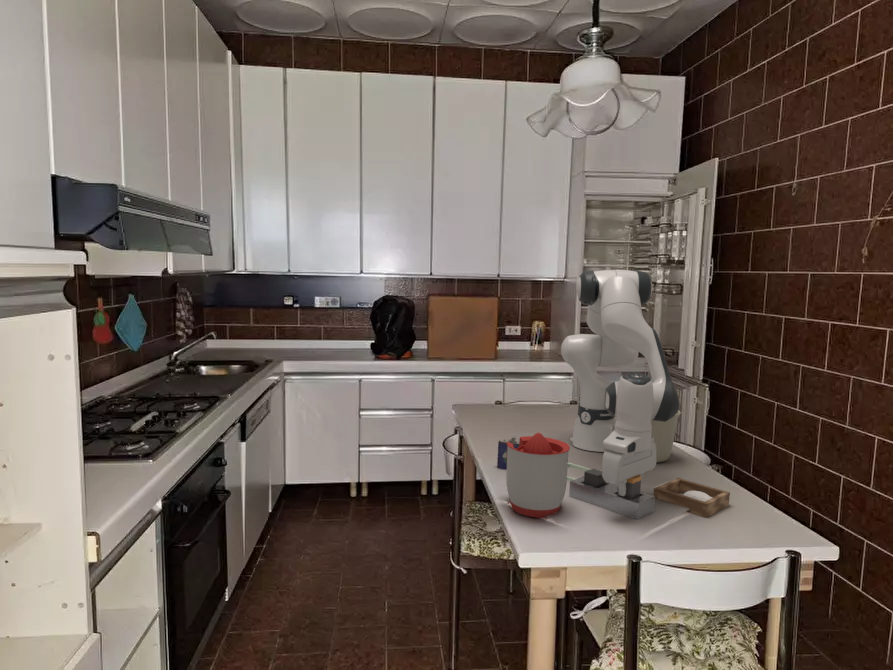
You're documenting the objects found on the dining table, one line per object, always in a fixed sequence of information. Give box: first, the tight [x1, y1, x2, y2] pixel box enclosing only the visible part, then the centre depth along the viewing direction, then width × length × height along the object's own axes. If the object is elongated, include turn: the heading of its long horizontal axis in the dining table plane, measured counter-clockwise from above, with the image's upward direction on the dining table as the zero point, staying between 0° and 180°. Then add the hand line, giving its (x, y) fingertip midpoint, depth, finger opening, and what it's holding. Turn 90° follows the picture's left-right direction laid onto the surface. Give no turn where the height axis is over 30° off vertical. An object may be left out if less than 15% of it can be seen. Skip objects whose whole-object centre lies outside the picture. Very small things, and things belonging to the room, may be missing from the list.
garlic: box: [682, 491, 713, 502], centre depth 164 cm, size 8×7×4 cm
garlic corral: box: [653, 477, 731, 519], centre depth 166 cm, size 13×14×4 cm
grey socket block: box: [568, 475, 656, 520], centre depth 161 cm, size 8×20×5 cm, turn 43°
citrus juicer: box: [503, 432, 571, 519], centre depth 157 cm, size 16×17×20 cm
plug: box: [617, 475, 642, 500], centre depth 157 cm, size 4×4×7 cm
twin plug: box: [583, 468, 606, 488], centre depth 164 cm, size 4×4×7 cm
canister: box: [651, 409, 682, 463], centre depth 204 cm, size 18×18×21 cm
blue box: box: [496, 435, 519, 471], centre depth 187 cm, size 9×3×11 cm, turn 78°
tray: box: [567, 461, 592, 482], centre depth 184 cm, size 12×12×2 cm
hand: (628, 492), depth 157 cm, fingers closed on plug, 4 cm apart
